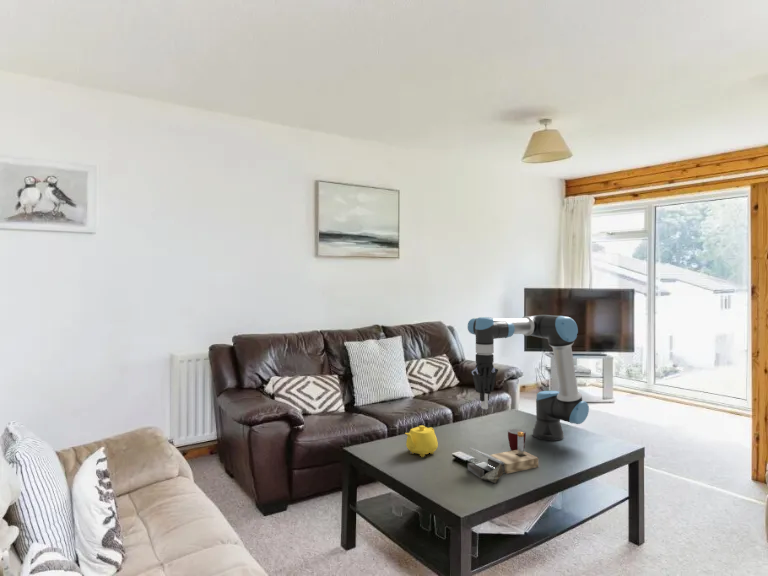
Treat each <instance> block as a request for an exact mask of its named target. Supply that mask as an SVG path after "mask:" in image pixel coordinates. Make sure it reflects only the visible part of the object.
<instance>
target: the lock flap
mask: <svg viewBox="0 0 768 576" xmlns="http://www.w3.org/2000/svg"><path fill="white" fill-rule="evenodd" d="M468 449H469V450H471V451H473V452H475V453H477V454H478V455H480V456H482V457H484V458H486V459H491V460H493V461H496V462H498V463H500V464H502V465H504V464H505V463H504V462H502V461H500V460H498V459H496V458H495V457H493V456H491V455H492V454H488V453H485V452H482V451H480V450H478V449H475V448H473V447H471V446H469V448H468Z"/></svg>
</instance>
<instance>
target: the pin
mask: <svg viewBox="0 0 768 576" xmlns="http://www.w3.org/2000/svg"><path fill="white" fill-rule="evenodd" d="M524 445H525V444H524V432H518V456H519V457H523V456H524V450H525V448H524Z"/></svg>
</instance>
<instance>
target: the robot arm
mask: <svg viewBox="0 0 768 576" xmlns="http://www.w3.org/2000/svg"><path fill="white" fill-rule="evenodd" d="M467 331H468V332H469V334H472V335H474V336H475V353H476V354H475V363H476V365H475V368H474V369H473V370H470V374H471V375H472V379H473V384H474V388H475V392H476V393H479V401H480V402H481V403H480V407H481V409H483V410H488V409H489V401H490V395H491V393H492V392H494V387H495V383H496V377H497V374H498V372H499V369H498V368H496V367H494V364H493V363H494V359H495V358H494V346H495V345H494V341H495V340H497V339H504V338H505V339H506V338H511V337H512V336H514V335H523V336H525V337H528V336H529V337H531V336H532V337H536V338H540V339H547V342H548V346H550V347H551V348H552V353H553V360H554V367H555V372H556V373H555V374H556V380H557V385H558V386H557V387H558V390H542V391H539V392H538V393H536V398H535V405H536V406H535V407H536V409H535V412H536V414H535V415H536V417H535V419H536V420H535V424H534V427H533V429H532V436H533V437H534V438H536V439H539V440H544V441H560V440H562V439H564V436H565V434H564V430H563V426H562V424H561V421H564V422H566V423H569V424H575V425H580V424H581V425H582V424H583V423H584V422H585V421H586V419H587V418H588V416H589V412H590V411H589V410H590V407H589V404H588V402H586V400H583V396H582V393H581V392H579V390H578V385H577V377H576V372H575V363H574V362H575V361H574V356H573V350H572V346H573V345H574V343H575V340H577V337H578V335H577V334H579V329H578V325H577V323H576V321H575V320H574V319H573V318H572V317H569V316H565V315H552V314H551V315H550V314H538V315H537V314H536V315H525V316H523V317H521V318H520V317H519V318H517V317H515V318H513V317H512V318H493V317H489V316H488V317H487V316H485V317H482V316H481V317H477V318H475V317H474V318H471V319H469V321H468V322H467ZM494 339H495V340H494Z"/></svg>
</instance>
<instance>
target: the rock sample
mask: <svg viewBox="0 0 768 576" xmlns="http://www.w3.org/2000/svg"><path fill="white" fill-rule="evenodd" d="M503 474H504V473H503V471H502V465H501V464H499V465H498V467H496V468H495V469H493V470H489V471H488V472H486V473H484V476H482V477H481V480H483V481H487V482H491V483H493V484H496V483H497V481H499V479H500V477H502V476H503Z"/></svg>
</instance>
